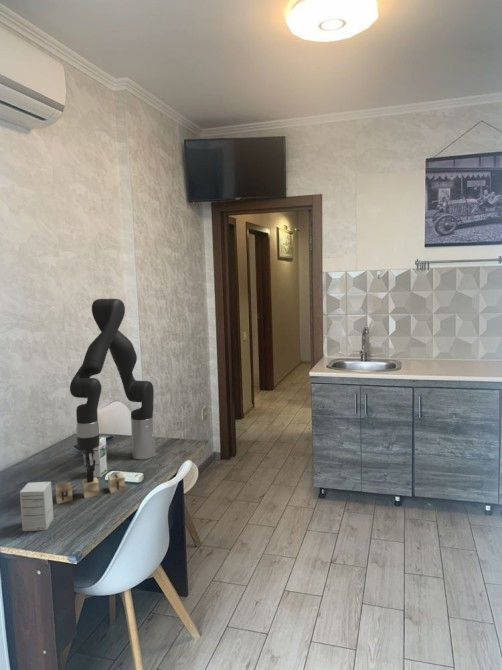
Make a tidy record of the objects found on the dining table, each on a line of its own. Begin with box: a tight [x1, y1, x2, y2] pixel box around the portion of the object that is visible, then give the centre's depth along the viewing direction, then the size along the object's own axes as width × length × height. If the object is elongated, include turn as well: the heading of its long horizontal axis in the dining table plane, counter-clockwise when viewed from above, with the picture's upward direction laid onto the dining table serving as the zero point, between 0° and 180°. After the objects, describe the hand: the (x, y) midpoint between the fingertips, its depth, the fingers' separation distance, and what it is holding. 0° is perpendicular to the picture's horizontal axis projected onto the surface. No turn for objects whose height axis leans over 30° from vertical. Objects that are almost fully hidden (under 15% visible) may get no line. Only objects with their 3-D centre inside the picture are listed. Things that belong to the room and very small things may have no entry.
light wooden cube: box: [55, 481, 74, 505], centre depth 170 cm, size 5×5×5 cm
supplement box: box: [19, 481, 54, 532], centre depth 151 cm, size 7×7×13 cm
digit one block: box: [107, 472, 126, 494], centre depth 177 cm, size 5×5×5 cm
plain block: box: [81, 477, 100, 499], centre depth 174 cm, size 5×5×5 cm
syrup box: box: [93, 436, 109, 478], centre depth 191 cm, size 6×6×14 cm
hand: (90, 481), depth 173 cm, fingers closed
